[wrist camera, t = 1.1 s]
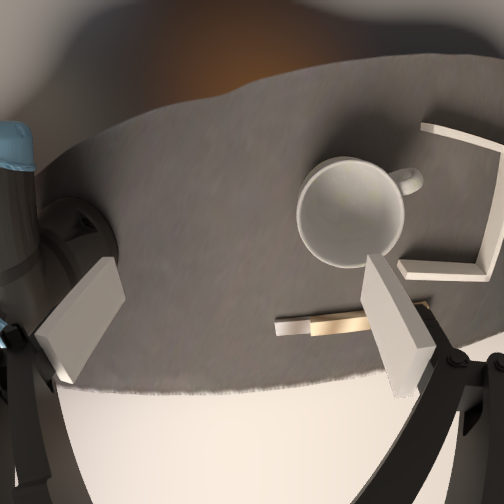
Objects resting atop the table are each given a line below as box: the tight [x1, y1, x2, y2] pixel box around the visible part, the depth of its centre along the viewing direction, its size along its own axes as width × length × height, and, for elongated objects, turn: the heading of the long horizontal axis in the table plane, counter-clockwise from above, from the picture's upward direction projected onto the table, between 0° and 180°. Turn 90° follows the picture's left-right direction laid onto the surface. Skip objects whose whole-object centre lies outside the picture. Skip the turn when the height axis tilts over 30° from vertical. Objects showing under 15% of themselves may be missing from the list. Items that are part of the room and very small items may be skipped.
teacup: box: [296, 156, 423, 268], centre depth 30 cm, size 14×11×8 cm
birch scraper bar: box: [275, 301, 429, 336], centre depth 41 cm, size 23×2×2 cm, turn 99°
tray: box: [397, 122, 504, 282], centre depth 31 cm, size 15×19×4 cm
